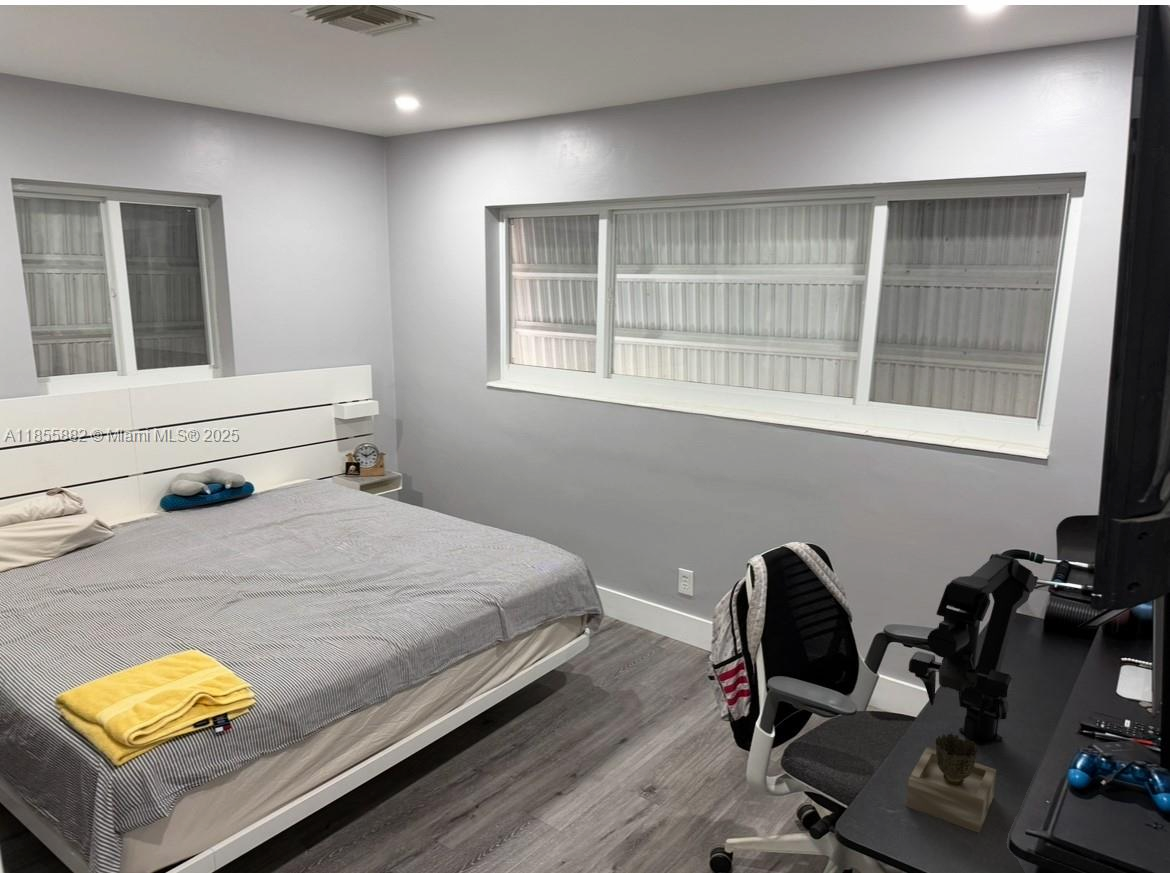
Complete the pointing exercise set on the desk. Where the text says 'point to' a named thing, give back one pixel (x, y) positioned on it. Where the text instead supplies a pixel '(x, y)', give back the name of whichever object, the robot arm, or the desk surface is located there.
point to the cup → (955, 758)
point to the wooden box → (951, 793)
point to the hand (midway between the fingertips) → (955, 711)
